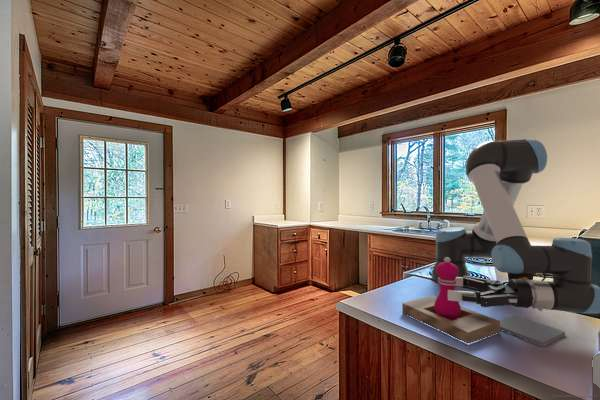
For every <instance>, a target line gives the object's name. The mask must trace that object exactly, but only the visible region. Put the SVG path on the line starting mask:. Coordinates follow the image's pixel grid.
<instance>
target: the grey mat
mask: <svg viewBox="0 0 600 400" xmlns="http://www.w3.org/2000/svg"><path fill="white" fill-rule="evenodd" d="M499 321H500V331H502V330H503V331H502V332H504V331H505V333H507V332H509V333H511V334H510V335H512V334H513V335H512V336H514V335H516V336H515V337H517V336H518V337H517V338H519V337H521V338H520V339H522V338H523V340H524V339H526V340H525V341H527V340H528V341H527V342H529V341H531V342H530V343H532V342H534V343H533V344H535V343H536V344H535V345H537V344H539V345H538V346H540V345H541V346H540V347H542V346H543V347H544V345H545V346H547V345H549V344H551V343H553V342H555V341H556V339H557V340H559V339H560V337H561V338H563V337H565V336H566V331H564V330H561V329H558V328H554V327H553V326H552V327H551V326H549V325H546V324H543V323H540V322H537V321H534V320H531V319H529V318H526V317H522V316H519V315H517V314H515V315H512V316H509V317H507V318H503V319H501V320H499ZM509 333H508V334H509ZM564 335H565V336H564ZM562 336H563V337H562ZM558 338H559V339H558ZM550 342H551V343H550ZM548 343H549V344H548ZM546 344H547V345H546Z"/></svg>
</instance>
